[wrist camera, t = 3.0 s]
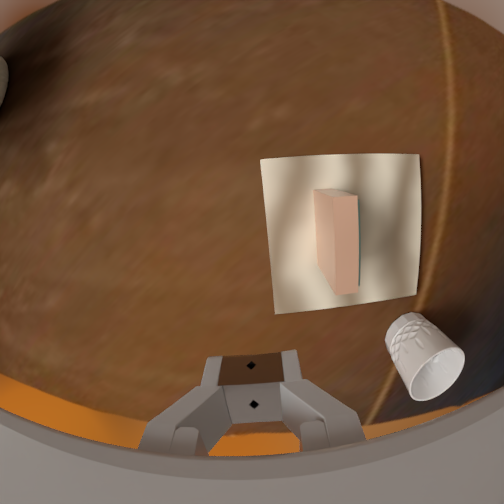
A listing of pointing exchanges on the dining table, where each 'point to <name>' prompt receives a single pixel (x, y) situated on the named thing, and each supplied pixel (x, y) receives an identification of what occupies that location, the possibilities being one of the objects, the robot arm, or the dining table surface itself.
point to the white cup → (423, 356)
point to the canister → (3, 78)
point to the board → (371, 226)
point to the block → (338, 239)
